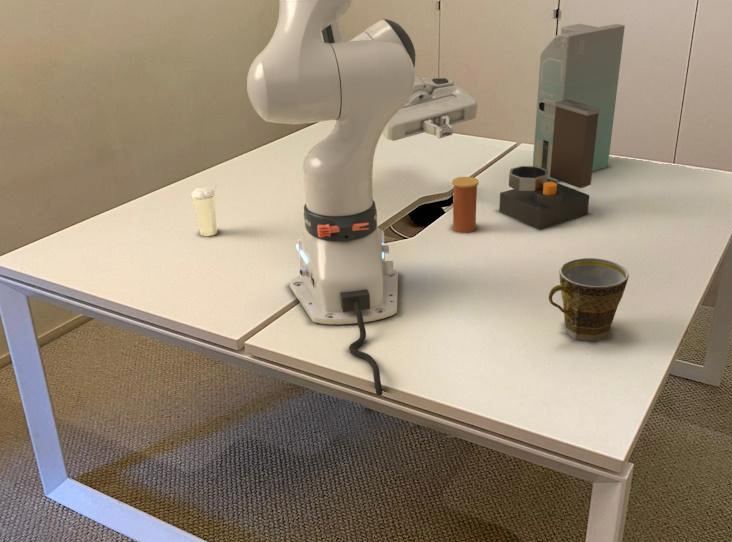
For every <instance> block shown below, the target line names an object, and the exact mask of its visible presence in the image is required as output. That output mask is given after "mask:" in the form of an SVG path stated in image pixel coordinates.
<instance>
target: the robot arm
mask: <svg viewBox="0 0 732 542" xmlns="http://www.w3.org/2000/svg"><path fill="white" fill-rule="evenodd" d="M278 3H279V4H278V5H279V9H278V11H279V12H278V19H277V23H276V26H275V29H274V33H272V34H273V35H272V36H271V38H270V40H269V42H268V43H267V44H266V46H265V47H264V49H262V51H261V52H260V53H258V55H256V56H255V58H254V59H253V61H252V62H251V64H250V66H249V68H248V72H247V75H246V92H247V96H248V100H249V102H250V105H251V107H252V108H253V109H254V111H255V113H256V114H257V115H258V116H259V117H260V118H261V119H262V120H264V121H265V122H267V123H275V124H283V125H284V124H285V125H303V124H304V125H305V124H312V123H320V122H321V123H322V122H329V121H330V122H331V121H335V124H334V127H333V128H332V130H331V132H330V133H329V134H328V136H326V137H325V138H324V139H322V140H321V141H319V142H317V143H316V144H315V145H313V146H312V148H311V149H310V150H309V151H308V152H307V154H306V155H305V157H304V160H303V164H302V170H303V171H302V172H303V173H302V174H303V183H304V197H305V203H304V206H303V221H304V227H305V231H304V233H303V234H302V235H301V236H300V237H299V238H298V240H297V243H296V244H295V247H296V250H297V251H298V252H297V253H298V254H297V255H298V269H299V276H296V277H294V278H293V279H291V280H290V281H289V288H290V289H291V291H292V293H293V294H294V296H295V297H296V299H297V300H298V302H299V303H300V305H301V306H302V307H303V309H304V311H305V313H306V314H307V316H308V317H309V318H310V320H311V321H312V322H313V323H315V324H323V325H352V324H357V325H358V330H359V338H358V339H356V340H355V341H354V342H352V343H351V344H350V345H349V346H348V351H349V352H350V354H352V355H353V356H355V357H357V358H359V359H363V360H365V361H367V363H368V364H369V365H370V367H371V368H372V375H373V383H374V388H375V394H376V395H377V396H382V395H383V387H382V381H381V373H380V368H379V365H378V363H377V361H376V360H375V359H374V357H372V356H371V355H370V354H368V353H366V352H364V351H361V350H358V347H360V346H362V345H363V344H364V343H365V341H366V337H367V331H366V326H365V323H368V322H374V321H378V320H383V319H386V318H389V317H391V316H394V315H396V314H397V313H398V296H399V295H398V294H399V293H398V292H399V275H398V271H397V269H394V261H393V260H386V259H385V258H386V256H385V255H389V253H390V247H389V245H388V244H387V245H385V231H383V230H382V229H381V228H379V227H378V220H377V219H378V210H377V208H376V207H377V205H376V201H375V200H374V190H373V187H374V186H373V183H374V182H373V179H374V177H373V176H374V160H375V159H374V158H375V155H376V149H377V146H378V143H379V141H380V139H381V137H382V135H383V136H384V138H385V139H386V140H388V141H392V142H394V141H399V140H402V139H405V138H409V137H414V136H416V135H421V134H423V133H424V134H425V133H426V134H428V135H432V136H435V137H436V138H437V139H443V138H446V137H449V136H453V134H454V128H453V125H457V124H459V123H460V124H461V123H464V122H468V121H472V120H474V119H475V118H476V116H477V113H478V112H477V111H478V102H477V99H476V98H475V97H474V96H472V95H471V94H470V92H468V91H467V90H465V89H464V88H462V87H461V86H459V85H455V83H454V82H455V81H454V80H453V79H452V78H451V77H442V78H441V77H439V78H432V77H422V76H419V75H417V74H416V71H415V67H416V49H415V46H414V44H413V41H412V39H411V37H410V35H409V34H408V32H406V30H405V29H404V28H403V27H402V26H401V25H400V24H399V23H397V22H396V21H394V20H391V19H387V18H381V20H378V21H377V22H374V24H372V25H371V26H369V27H368V28H366V29H364V30H363V31H362V32H361V33H359V34H358V35H356V36H354V37H352V39H350V40H348V41H344V40H343V36H342V32H341V26H340V18H342V17H343V16H344V15H345V14H346V13H347V11H348V10H349V8H350V7H351V5H352V3H353V0H278ZM356 348H357V349H356Z"/></svg>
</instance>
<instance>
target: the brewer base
mask: <svg viewBox="0 0 732 542" xmlns="http://www.w3.org/2000/svg"><path fill="white" fill-rule="evenodd" d="M547 182H555V183H557V191H556V195H544V194H543V189H540V190H537V191H519V190H517V189H514V188H512V189H508V190H505V191H501V192H499V209H498V211H499V213H501V214H503V215H506V216H507V217H510V218H512V219H514V220H517V221H519V222H522V223H523V224H526V225H528V226H530V227H533V228H535V229H536V230H542V229H545V228H548V227H549V228H550V227H552V226H555V225H558V224H561V223H564V222H567V221H570V220H574V219H576V218H577V219H578V218H580V217H583V216H587V215H588V213H589V203H590V195H589V194H588V193H585V192H582V191H580V190H577V189H575V188H573V187H570V186H567V185H564V184H561V183H559V182H558V181H557V182H556V181H553V180H550V179H548V178H547Z"/></svg>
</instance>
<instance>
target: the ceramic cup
mask: <svg viewBox="0 0 732 542" xmlns="http://www.w3.org/2000/svg"><path fill="white" fill-rule="evenodd" d="M629 277H630V274H629V271H628V270H627V269H626V268H625V267H624V266H623V265H622V264H619V263H617V262H615V261H612V260H608V259H603V258H596V257H595V258H594V257H593V258H592V257H584V258H577V259H572V260H569V261H567V262H565V263H563V264H562V265H561V266H560V268H559V284H556V285H554V286H553V287H552V288H551V289H550V291H549V294H548V301H549V303H550V304H551V305H552V306H554V307H555V308H557V309H559V311H560V312H562V313H563V318H564V319H563V320H564V331H565V334H566V335H568V336H569V337H571V338H572V339H574V340H575V341H582V342H583V341H584V342H592V343H593V342H596V341H600V340H602V339H606V338H607V337H608V336H609V334H610V331H611V328H612V324H613V321H614V319H615V315H616V312H617V310H618V307H619V304H620V303H621V300H622V299H623V296H624V293H625V290H626V287H627V284H628V280H629ZM559 291H560V292H561V299H562V306H561V305H559V304H558V303H556V302H554V300H553V296H554V295H555V293H557V292H559Z"/></svg>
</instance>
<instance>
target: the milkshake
mask: <svg viewBox="0 0 732 542" xmlns="http://www.w3.org/2000/svg"><path fill="white" fill-rule="evenodd" d="M217 186H218V184H216V185H215V187H214V189H213V188H210V187H207V186H203V187H200V186H199V187H196V188H195V189H193V190H192V192H191V193H190V197H191V200H192V201H191V202H192V205H193V208H194V211H195V216H196V220H197V224H198V225H197V226H198V228H199V232H200V235H201V236H203V237H212V236H214V235H215V236H216V235H217V234H218V224H217V212H216V190H217Z"/></svg>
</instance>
